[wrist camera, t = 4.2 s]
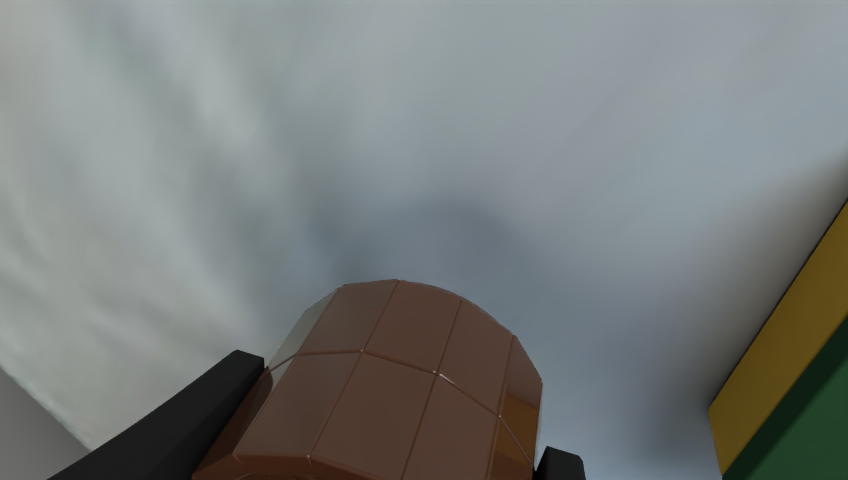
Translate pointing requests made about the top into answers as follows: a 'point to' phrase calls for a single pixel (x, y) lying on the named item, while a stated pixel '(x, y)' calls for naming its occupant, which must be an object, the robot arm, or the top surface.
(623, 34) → the top surface
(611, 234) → the top surface
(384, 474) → the brown hollow cylinder
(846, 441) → the sponge
